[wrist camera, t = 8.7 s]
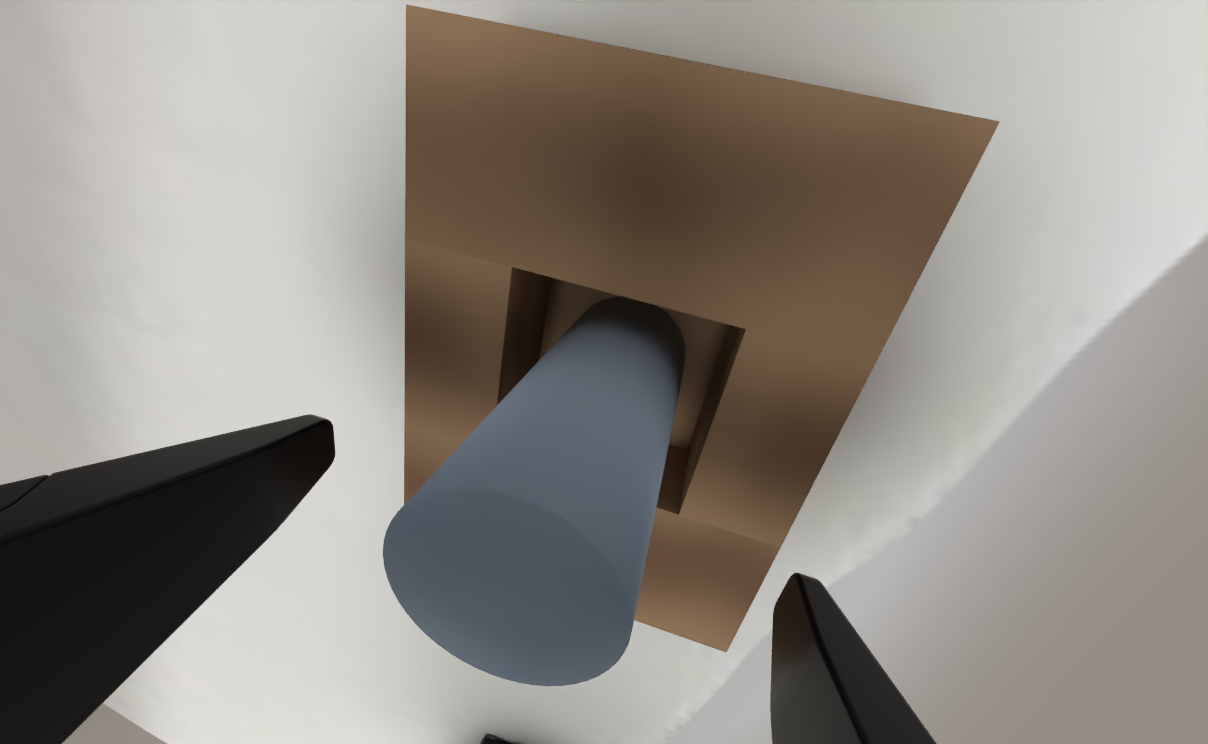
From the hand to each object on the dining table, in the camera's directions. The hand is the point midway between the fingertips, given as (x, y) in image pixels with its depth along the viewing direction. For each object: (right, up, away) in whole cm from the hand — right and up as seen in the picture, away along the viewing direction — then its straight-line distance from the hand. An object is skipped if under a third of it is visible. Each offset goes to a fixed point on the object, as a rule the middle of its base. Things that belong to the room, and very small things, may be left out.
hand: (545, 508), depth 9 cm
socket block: (+2, +4, +8) cm, 9 cm away
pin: (+2, +3, +7) cm, 8 cm away
